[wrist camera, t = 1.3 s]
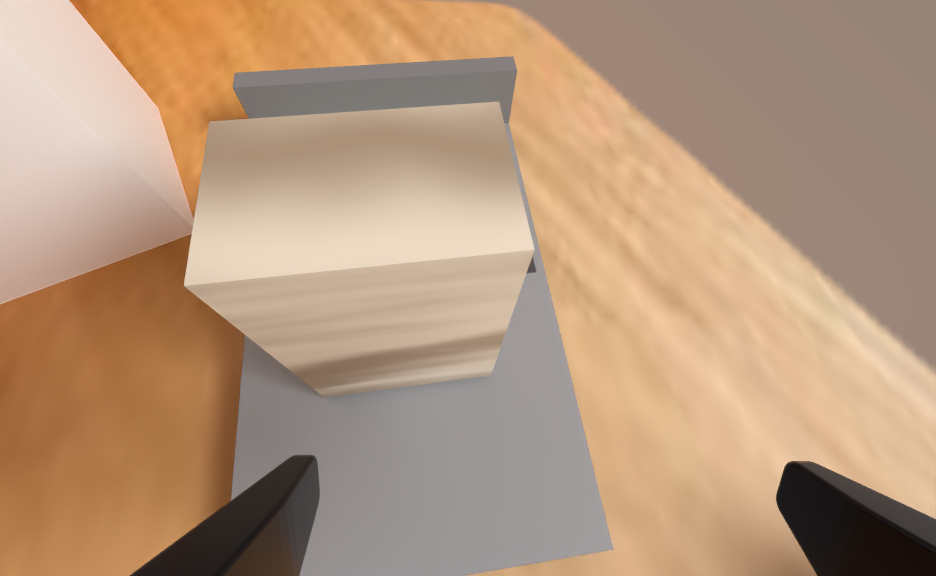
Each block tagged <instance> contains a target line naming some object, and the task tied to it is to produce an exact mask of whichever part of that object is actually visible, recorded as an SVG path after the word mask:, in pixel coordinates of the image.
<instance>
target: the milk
mask: <svg viewBox="0 0 936 576" xmlns="http://www.w3.org/2000/svg"><path fill="white" fill-rule="evenodd" d="M193 223H194V219H193V216H192V213H191V210H190V207H189V204H188V200H187V197H186V194H185V191H184V188H183V185H182V182H181V179H180V175H179V172H178V169H177V166H176V163H175V160H174V157H173V153H172V150H171V147H170V144H169V141H168V138H167V135H166V131H165V128H164V125H163V122H162V119H161V116H160V113H159V110H158V107H157V106H156V105H155V104H154V103H153V101H152V100H151V99H150V98H149V97H148V95H147V94H146V93H145V92H144V91H143V89H142V88H141V87H140V86H139V84H138V83H137V82H136V81H135V80H134V78H133V77H132V76H131V75H130V74H129V72H128V71H127V70H126V69H125V68H124V66H123V65H122V64H121V63H120V61H119V60H118V59H117V58H116V57H115V55H114V54H113V53H112V52H111V51H110V49H109V48H108V47H107V46H106V45H105V43H104V42H103V41H102V40H101V39H100V37H99V36H98V35H97V34H96V32H95V31H94V30H93V29H92V28H91V26H90V25H89V24H88V23H87V22H86V20H85V19H84V18H83V17H82V16H81V14H80V13H79V12H78V11H77V9H76V8H75V7H74V6H73V5H72V3H71V2H70V1H69V0H0V304H3V303H6V302H8V301H11V300H14V299H17V298H19V297H22V296H25V295H27V294H30V293H33V292H36V291H38V290H41V289H44V288H46V287H49V286H52V285H55V284H57V283H60V282H63V281H66V280H68V279H71V278H74V277H76V276H79V275H82V274H85V273H87V272H90V271H93V270H96V269H98V268H101V267H104V266H106V265H109V264H112V263H115V262H117V261H120V260H123V259H125V258H128V257H131V256H134V255H136V254H139V253H142V252H145V251H147V250H150V249H153V248H155V247H158V246H161V245H164V244H166V243H169V242H172V241H175V240H177V239H180V238H183V237H185V236H188V235H191V234H192V229H193Z"/></svg>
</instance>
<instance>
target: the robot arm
mask: <svg viewBox="0 0 936 576" xmlns="http://www.w3.org/2000/svg"><path fill="white" fill-rule="evenodd" d="M319 498H320V486H319V473H318V462H317V458H316V457H315V456H314V455H293V456H291V457H290V458H288V459H287V460H285V461H284V462H283V463H281V464H280V465H279V466H277V467H276V468H275V469H273V470H272V471H271V472H269V473H268V474H266V475H265V476H264V477H262V478H261V479H260V480H258V481H257V482H256V483H254V484H253V485H252V486H250V487H249V488H248V489H246V490H245V491H243V492H242V493H241V494H239V495H238V496H237V497H235V498H234V499H233V500H231V501H230V502H229V503H227V504H226V505H225V506H223V507H222V508H220V509H219V510H218V511H216V512H215V513H214V514H212V515H211V516H210V517H208V518H207V519H206V520H204V521H203V522H201V523H200V524H199V525H197V526H196V527H195V528H193V529H192V530H191V531H189V532H188V533H187V534H185V535H184V536H183V537H181V538H180V539H178V540H177V541H176V542H174V543H173V544H172V545H170V546H169V547H168V548H166V549H165V550H164V551H162V552H161V553H160V554H158V555H157V556H155V557H154V558H153V559H151V560H150V561H149V562H147V563H146V564H145V565H143V566H142V567H141V568H139V569H138V570H136V571H135V572H134V573H132V574H131V575H130V576H300V572H301V568H302V564H303V561H304V557H305V553H306V549H307V546H308V542H309V538H310V534H311V531H312V527H313V523H314V520H315V516H316V512H317V508H318V504H319ZM776 501H777V505H778V508H779V510H780V512H781V514H782V516H783V517H784V519H785V521H786V522H787V524H788V526H789V528H790V529H791V531H792V533H793V535H794V536H795V538H796V540H797V541H798V543H799V545H800V547H801V548H802V550H803V552H804V554H805V555H806V557H807V559H808V560H809V562H810V564H811V566H812V567H813V569H814V571H815V573H816V574H817V576H936V519H934V518H932V517H930V516H928V515H926V514H923V513H921V512H919V511H917V510H915V509H913V508H911V507H908V506H906V505H904V504H902V503H900V502H898V501H896V500H893V499H891V498H889V497H887V496H885V495H883V494H881V493H878V492H876V491H874V490H872V489H870V488H868V487H866V486H863V485H861V484H859V483H857V482H855V481H853V480H851V479H849V478H846V477H844V476H842V475H840V474H838V473H836V472H834V471H831V470H829V469H827V468H825V467H823V466H821V465H819V464H816V463H814V462H810V461H791V462H788V463H787V464H786V465H785V467H784V470H783V474H782V477H781V481H780V484H779V487H778V491H777V495H776Z"/></svg>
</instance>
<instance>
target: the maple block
mask: <svg viewBox="0 0 936 576" xmlns="http://www.w3.org/2000/svg"><path fill="white" fill-rule="evenodd" d="M534 250H535V249H534V245H533V241H532V237H531V233H530V228H529V224H528V220H527V216H526V212H525V208H524V203H523V199H522V195H521V191H520V187H519V183H518V178H517V174H516V170H515V166H514V162H513V158H512V153H511V149H510V145H509V141H508V137H507V133H506V128H505V124H504V120H503V116H502V112H501V108H500V103H499V102H485V103H471V104H456V105H442V106H427V107H413V108H398V109H384V110H369V111H355V112H340V113H326V114H311V115H297V116H282V117H268V118H253V119H238V120H224V121H209V127H208V133H207V140H206V146H205V152H204V159H203V165H202V172H201V178H200V184H199V191H198V197H197V204H196V210H195V217H194V223H193V229H192V236H191V242H190V249H189V255H188V261H187V268H186V274H185V281H184V287H186V288H187V289H188V290H189V291H191V292H192V293H193V294H194V295H196V296H197V297H198V298H199V299H201V300H202V301H203V302H204V303H206V304H207V305H208V306H210V307H211V308H212V309H213V310H215V311H216V312H217V313H218V314H220V315H221V316H222V317H223V318H225V319H226V320H227V321H228V322H230V323H231V324H232V325H233V326H235V327H236V328H237V329H238V330H240V331H241V332H242V333H243V334H245V335H246V336H247V337H248V338H250V339H251V340H252V341H253V342H255V343H256V344H257V345H259V346H260V347H261V348H262V349H264V350H265V351H266V352H267V353H269V354H270V355H271V356H272V357H274V358H275V359H276V360H277V361H279V362H280V363H281V364H282V365H284V366H285V367H286V368H287V369H289V370H290V371H291V372H292V373H294V374H295V375H296V376H297V377H299V378H300V379H301V380H303V381H304V382H305V383H306V384H308V385H309V386H310V387H311V388H313V389H314V390H315V391H316V392H318V393H319V394H320V395H321V396H323V397H332V396H340V395H347V394H355V393H362V392H370V391H378V390H385V389H393V388H401V387H408V386H416V385H424V384H431V383H439V382H447V381H454V380H462V379H470V378H477V377H485V376H491V374H492V371H493V368H494V365H495V362H496V360H497V357H498V354H499V351H500V348H501V345H502V342H503V339H504V336H505V334H506V331H507V328H508V325H509V322H510V319H511V316H512V313H513V311H514V308H515V305H516V302H517V299H518V296H519V293H520V290H521V287H522V285H523V282H524V279H525V276H526V273H527V270H528V267H529V264H530V262H531V259H532V256H533V253H534Z"/></svg>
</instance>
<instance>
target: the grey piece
mask: <svg viewBox="0 0 936 576" xmlns="http://www.w3.org/2000/svg"><path fill="white" fill-rule="evenodd" d="M516 73H517V68H516V65H515V61H514V57H497V58H480V59H463V60H446V61H429V62H412V63H395V64H378V65H361V66H344V67H327V68H310V69H293V70H276V71H259V72H242V73H235V75H234V82H233V89H234V91H235V93H236V95H237V97H238V99H239V101H240V102H241V104H242V106H243V108H244V110H245V112H246V114H247V116H248V118H249V119H253V118H268V117H282V116H297V115H311V114H326V113H340V112H355V111H369V110H384V109H398V108H413V107H427V106H442V105H456V104H471V103H485V102H499V103H500V108H501V112H502V116H503V120H504V124H505V128H506V133H507V137H508V141H509V145H510V149H511V153H512V158H513V162H514V166H515V170H516V174H517V178H518V183H519V187H520V191H521V195H522V199H523V203H524V208H525V212H526V216H527V220H528V224H529V228H530V233H531V237H532V241H533V245H534V249H535V250H534V253H533V256H532V259H531V262H530V264H529V267H528V270H527V273H526V276H525V279H524V282H523V285H522V287H521V290H520V293H519V296H518V299H517V302H516V305H515V308H514V311H513V313H512V316H511V319H510V322H509V325H508V328H507V331H506V334H505V336H504V339H503V342H502V345H501V348H500V351H499V354H498V357H497V360H496V362H495V365H494V368H493V371H492V374H491V376H485V377H477V378H470V379H462V380H454V381H447V382H439V383H431V384H424V385H416V386H408V387H401V388H393V389H385V390H378V391H370V392H362V393H355V394H347V395H340V396H332V397H323V396H321V395H320V394H319V393H318V392H316V391H315V390H314V389H313V388H311V387H310V386H309V385H308V384H306V383H305V382H304V381H303V380H301V379H300V378H299V377H297V376H296V375H295V374H294V373H292V372H291V371H290V370H289V369H287V368H286V367H285V366H284V365H282V364H281V363H280V362H279V361H277V360H276V359H275V358H274V357H272V356H271V355H270V354H269V353H267V352H266V351H265V350H264V349H262V348H261V347H260V346H259V345H257V344H256V343H255V342H253V341H252V340H251V339H250V338H248V337H247V336H246V335H245V339H244V351H243V363H242V375H241V387H240V399H239V411H238V423H237V435H236V446H235V458H234V470H233V482H232V494H231V500H233V499H234V498H235V497H237V496H238V495H239V494H241V493H242V492H243V491H245V490H246V489H248V488H249V487H250V486H252V485H253V484H254V483H256V482H257V481H258V480H260V479H261V478H262V477H264V476H265V475H266V474H268V473H269V472H271V471H272V470H273V469H275V468H276V467H277V466H279V465H280V464H281V463H283V462H284V461H285V460H287V459H288V458H290V457H291V456H293V455H314V456H315V457H316V458H317V462H318V473H319V486H320V498H319V504H318V508H317V512H316V516H315V520H314V523H313V527H312V531H311V534H310V538H309V542H308V546H307V549H306V553H305V557H304V561H303V564H302V568H301V572H300V576H465V575H470V574H476V573H482V572H488V571H493V570H499V569H505V568H510V567H516V566H522V565H528V564H533V563H539V562H545V561H550V560H556V559H562V558H568V557H573V556H579V555H585V554H590V553H596V552H602V551H608V550H613V546H612V542H611V538H610V534H609V530H608V526H607V522H606V518H605V513H604V509H603V505H602V501H601V497H600V493H599V489H598V485H597V481H596V477H595V473H594V469H593V465H592V461H591V457H590V452H589V448H588V444H587V440H586V436H585V432H584V428H583V424H582V420H581V416H580V412H579V408H578V404H577V400H576V396H575V391H574V387H573V383H572V379H571V375H570V371H569V367H568V363H567V359H566V355H565V351H564V347H563V343H562V339H561V334H560V330H559V326H558V322H557V318H556V314H555V310H554V306H553V302H552V298H551V294H550V290H549V286H548V282H547V278H546V273H545V269H544V265H543V261H542V257H541V253H540V249H539V245H538V241H537V237H536V233H535V229H534V225H533V221H532V217H531V212H530V208H529V204H528V200H527V196H526V192H525V188H524V184H523V180H522V176H521V172H520V168H519V164H518V160H517V155H516V151H515V147H514V143H513V139H512V135H511V131H510V127H509V117H510V111H511V105H512V98H513V92H514V86H515V80H516Z"/></svg>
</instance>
